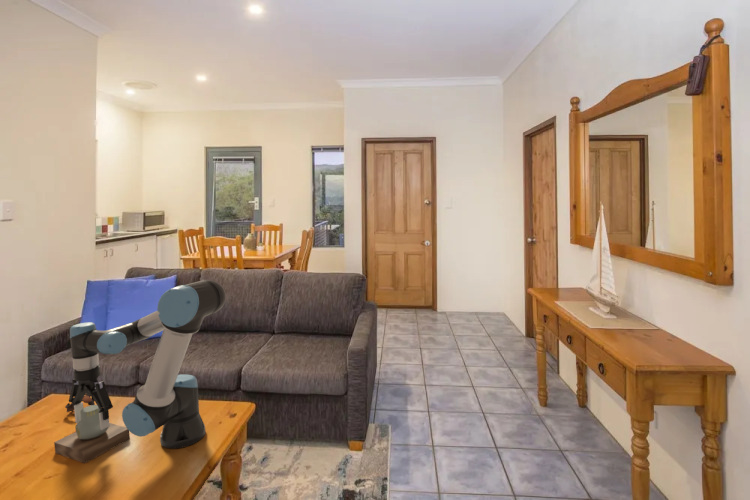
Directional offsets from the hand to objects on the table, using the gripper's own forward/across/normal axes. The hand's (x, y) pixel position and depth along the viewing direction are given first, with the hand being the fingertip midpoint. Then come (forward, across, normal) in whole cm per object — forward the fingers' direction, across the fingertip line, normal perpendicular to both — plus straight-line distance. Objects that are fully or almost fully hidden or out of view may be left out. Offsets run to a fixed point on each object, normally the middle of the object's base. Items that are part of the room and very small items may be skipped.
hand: (92, 424), depth 146 cm
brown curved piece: (+8, +31, -16) cm, 36 cm away
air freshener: (+4, 0, 0) cm, 4 cm away
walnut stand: (+8, 0, 0) cm, 8 cm away
